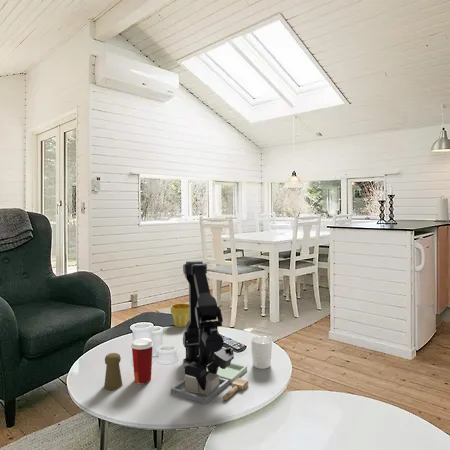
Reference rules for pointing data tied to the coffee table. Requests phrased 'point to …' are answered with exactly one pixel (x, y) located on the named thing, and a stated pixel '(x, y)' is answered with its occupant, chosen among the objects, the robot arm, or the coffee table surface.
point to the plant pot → (180, 314)
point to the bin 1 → (195, 397)
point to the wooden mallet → (236, 387)
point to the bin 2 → (231, 372)
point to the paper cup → (142, 360)
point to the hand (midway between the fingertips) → (208, 386)
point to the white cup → (261, 351)
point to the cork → (112, 372)
